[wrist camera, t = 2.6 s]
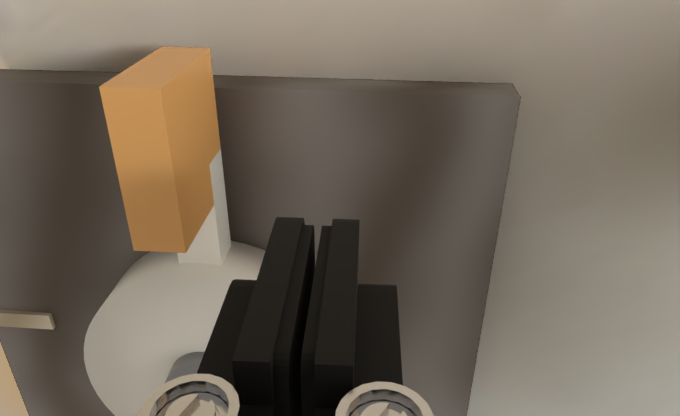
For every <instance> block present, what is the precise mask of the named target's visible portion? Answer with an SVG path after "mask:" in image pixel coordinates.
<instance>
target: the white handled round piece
mask: <svg viewBox="0 0 680 416" xmlns="http://www.w3.org/2000/svg"><path fill="white" fill-rule="evenodd" d="M99 89H100V94H101V99H102V103H103V108H104V113H105V117H106V122H107V127H108V132H109V136H110V141H111V146H112V150H113V155H114V160H115V165H116V169H117V174H118V179H119V183H120V188H121V193H122V198H123V202H124V207H125V212H126V217H127V221H128V226H129V231H130V235H131V240H132V245H133V250H134V251H151V252H149V253H147V254H146V255H144V256H142V257H141V258H140V259H139V260H137V261H136V262H135V263H134V264H132V266H131V267H130V268H129V269H128V270H127V271H126V273H125V274H124V275H123V277H122V278H121V279H120V281H119V282H118V284H117V285H116V286H115V288H114V289H113V291H112V292H111V293H110V295H109V296H108V298H107V299H106V300H105V302H104V303H103V305H102V306H101V307H100V309H99V310H98V312H97V313H96V314H95V316H94V318H93V320H92V321H91V323H90V325H89V327H88V330H87V333H86V336H85V342H84V362H85V366H86V371H87V374H88V377H89V379H90V382H91V384H92V386H93V388H94V389H95V391H96V393H97V395H98V396H99V398H100V399H101V400H102V402H103V403H104V404H105V406H106V407H107V408H108V409H109V410H110V411H111V412H112V413H113V414H114V415H115V416H136V414H137V413H138V411H139V410H140V408H141V407H142V405H143V404H144V402H145V401H146V400H147V399H148V397H149V396H150V395H151V394H152V393H153V392H154V391H155V390H156V389H158V388H159V387H161V386H162V385H163V384H165V383H166V382H168V381H171V380H173V379H176V378H178V377H180V376H185V375H190V374H197V371H198V368H199V366H200V363H201V360H202V358H203V355H204V352H205V350H206V347H207V344H208V342H209V339H210V336H211V334H212V331H213V328H214V326H215V323H216V320H217V318H218V315H219V312H220V310H221V307H222V304H223V302H224V299H225V296H226V294H227V291H228V288H229V286H230V284H231V282H232V281H233V280H234V279H242V280H257V277H258V274H259V270H260V267H261V264H262V261H263V257H264V254H265V250H263V249H260V248H257V247H254V246H251V245H248V244H245V243H240V242H235V241H231V239H230V230H229V220H228V211H227V202H226V193H225V183H224V174H223V165H222V156H221V147H220V137H219V128H218V119H217V110H216V100H215V91H214V82H213V73H212V63H211V54H210V48H195V47H160V48H159V49H157V50H155V51H154V52H152V53H151V54H149V55H148V56H146V57H145V58H143V59H141V60H140V61H138V62H137V63H135V64H134V65H132V66H131V67H129V68H127V69H126V70H124V71H123V72H121V73H120V74H118V75H117V76H115V77H113V78H112V79H110V80H109V81H107V82H106V83H104V84H103V85H101V86H99Z"/></svg>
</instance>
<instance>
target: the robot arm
mask: <svg viewBox="0 0 680 416" xmlns="http://www.w3.org/2000/svg"><path fill="white" fill-rule="evenodd" d="M359 230H360V220H358V219H333V221H332V226H323V225H322V228H321V234H320V241H319V247H318V253H317V260H316V266H315V231H314V225H305V222H304V218H295V217H276V219H275V222H274V225H273V228H272V232H271V235H270V238H269V241H268V244H267V248H266V251H265V254H264V257H263V261H262V264H261V267H260V270H259V274H258V277H257V280H242V279H234V280H233V281H232V282H231V284H230V286H229V288H228V291H227V294H226V296H225V299H224V302H223V304H222V307H221V310H220V312H219V315H218V318H217V320H216V323H215V326H214V328H213V331H212V334H211V336H210V339H209V342H208V344H207V347H206V350H205V352H204V355H203V358H202V360H201V363H200V366H199V368H198V371H197V374H190V375H185V376H180V377H178V378H176V379H173V380H171V381H168V382H166V383H165V384H163V385H162V386H161V387H159V388H158V389H156V390H155V391H154V392H153V393H152V394H151V395H150V396H149V397H148V399H147V400H146V401H145V402H144V404H143V405H142V407H141V408H140V410H139V411H138V413H137V414H136V416H434V415H433V413H432V411H431V409H430V407H429V405H428V403H427V402H426V401H425V400H424V399H423V398H422V397H421V396H420V395H419V394H418V393H416V392H414V391H413V390H411V389H409V388H408V387H406V386H403V379H402V362H401V346H400V329H399V313H398V296H397V286H396V285H379V284H358V268H359Z"/></svg>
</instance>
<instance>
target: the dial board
mask: <svg viewBox="0 0 680 416" xmlns="http://www.w3.org/2000/svg"><path fill="white" fill-rule="evenodd" d="M118 74H120V73H114V72H79V71H43V70H8V69H0V342H1V345H2V347H3V350H4V352H5V355H6V358H7V360H8V363H9V365H10V368H11V370H12V373H13V375H14V378H15V381H16V383H17V386H18V388H19V391H20V393H21V396H22V399H23V401H24V404H25V406H26V408H27V411H28V414H29V416H115V415H114V414H113V413H112V412H111V411H110V410H109V409H108V408H107V407H106V406H105V404H104V403H103V402H102V400H101V399H100V398H99V396H98V395H97V393H96V391H95V389H94V388H93V386H92V384H91V382H90V379H89V377H88V374H87V371H86V366H85V362H84V342H85V336H86V333H87V330H88V327H89V325H90V323H91V321H92V320H93V318H94V316H95V314H96V313H97V312H98V310H99V309H100V307H101V306H102V305H103V303H104V302H105V300H106V299H107V298H108V296H109V295H110V293H111V292H112V291H113V289H114V288H115V286H116V285H117V284H118V282H119V281H120V279H121V278H122V277H123V275H124V274H125V273H126V271H127V270H128V269H129V268H130V267H131V266H132V264H134V263H135V262H136V261H137V260H139V259H140V258H141V257H142V256H144V255H146V254H147V253H149V252H151V251H134V250H133V245H132V240H131V235H130V231H129V226H128V221H127V217H126V212H125V207H124V202H123V198H122V193H121V188H120V183H119V179H118V174H117V169H116V165H115V160H114V155H113V150H112V146H111V141H110V136H109V132H108V127H107V122H106V117H105V113H104V108H103V103H102V99H101V94H100V89H99V86H101V85H103V84H104V83H106V82H107V81H109V80H110V79H112V78H113V77H115V76H117V75H118ZM213 82H214V91H215V100H216V110H217V119H218V128H219V137H220V147H221V156H222V165H223V174H224V183H225V193H226V202H227V211H228V220H229V230H230V239H231V241H235V242H240V243H245V244H248V245H251V246H254V247H257V248H260V249H263V250H265V251H266V248H267V244H268V241H269V238H270V235H271V232H272V228H273V225H274V222H275V219H276V217H295V218H304V222H305V225H314V231H315V266H316V260H317V253H318V247H319V241H320V234H321V228H322V225H323V226H332V221H333V219H358V220H360V230H359V268H358V284H379V285H396V286H397V296H398V313H399V329H400V346H401V362H402V379H403V386H406V387H408V388H409V389H411V390H413V391H414V392H416V393H418V394H419V395H420V396H421V397H422V398H423V399H424V400H425V401H426V402H427V403H428V405H429V407H430V409H431V411H432V413H433V415H434V416H467V410H468V405H469V399H470V393H471V387H472V381H473V375H474V369H475V363H476V357H477V352H478V346H479V340H480V334H481V328H482V322H483V316H484V310H485V305H486V299H487V293H488V287H489V281H490V275H491V269H492V263H493V257H494V252H495V246H496V240H497V234H498V228H499V222H500V216H501V210H502V205H503V199H504V193H505V187H506V181H507V175H508V169H509V163H510V157H511V152H512V146H513V140H514V134H515V128H516V122H517V116H518V110H519V105H520V99H521V96H520V95H519V93H518V92H517V90H516V89H515V87H514V86H513V84H503V83H468V82H432V81H397V80H362V79H326V78H291V77H256V76H220V75H213Z"/></svg>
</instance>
